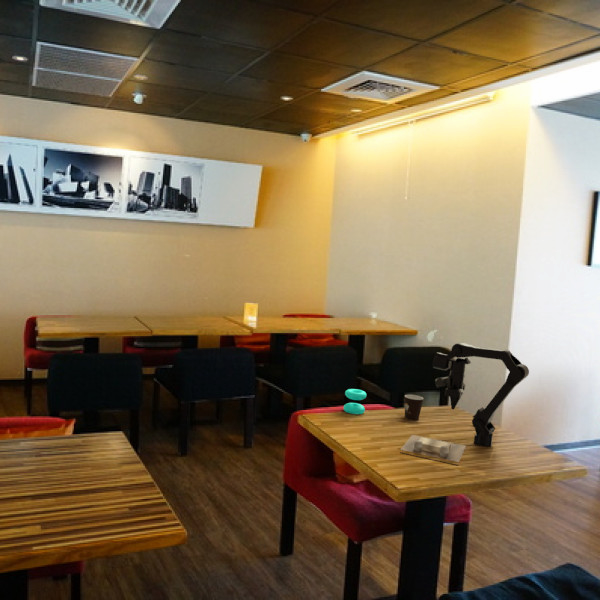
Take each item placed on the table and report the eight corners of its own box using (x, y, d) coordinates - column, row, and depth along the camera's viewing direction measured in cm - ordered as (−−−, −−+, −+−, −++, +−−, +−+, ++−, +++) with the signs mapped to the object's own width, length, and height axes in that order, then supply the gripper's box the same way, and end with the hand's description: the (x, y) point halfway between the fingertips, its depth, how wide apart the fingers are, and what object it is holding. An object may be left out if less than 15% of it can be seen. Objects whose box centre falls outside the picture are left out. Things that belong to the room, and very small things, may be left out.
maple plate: (450, 449, 244) (451, 443, 244) (447, 455, 237) (448, 449, 237) (420, 443, 249) (420, 437, 249) (416, 448, 241) (416, 442, 241)
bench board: (465, 449, 251) (467, 437, 251) (458, 466, 231) (459, 453, 230) (411, 438, 259) (413, 426, 259) (399, 453, 239) (401, 440, 238)
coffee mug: (422, 421, 285) (425, 400, 284) (403, 419, 286) (406, 398, 285) (418, 414, 297) (420, 394, 296) (400, 412, 297) (402, 392, 296)
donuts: (363, 395, 284) (342, 391, 287) (361, 416, 285) (340, 412, 288) (369, 390, 293) (349, 387, 297) (367, 411, 294) (346, 407, 298)
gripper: (441, 366, 272) (437, 400, 273) (434, 373, 254) (429, 410, 256) (467, 370, 268) (462, 405, 269) (462, 377, 250) (457, 415, 252)
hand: (452, 409), depth 262 cm, fingers closed
